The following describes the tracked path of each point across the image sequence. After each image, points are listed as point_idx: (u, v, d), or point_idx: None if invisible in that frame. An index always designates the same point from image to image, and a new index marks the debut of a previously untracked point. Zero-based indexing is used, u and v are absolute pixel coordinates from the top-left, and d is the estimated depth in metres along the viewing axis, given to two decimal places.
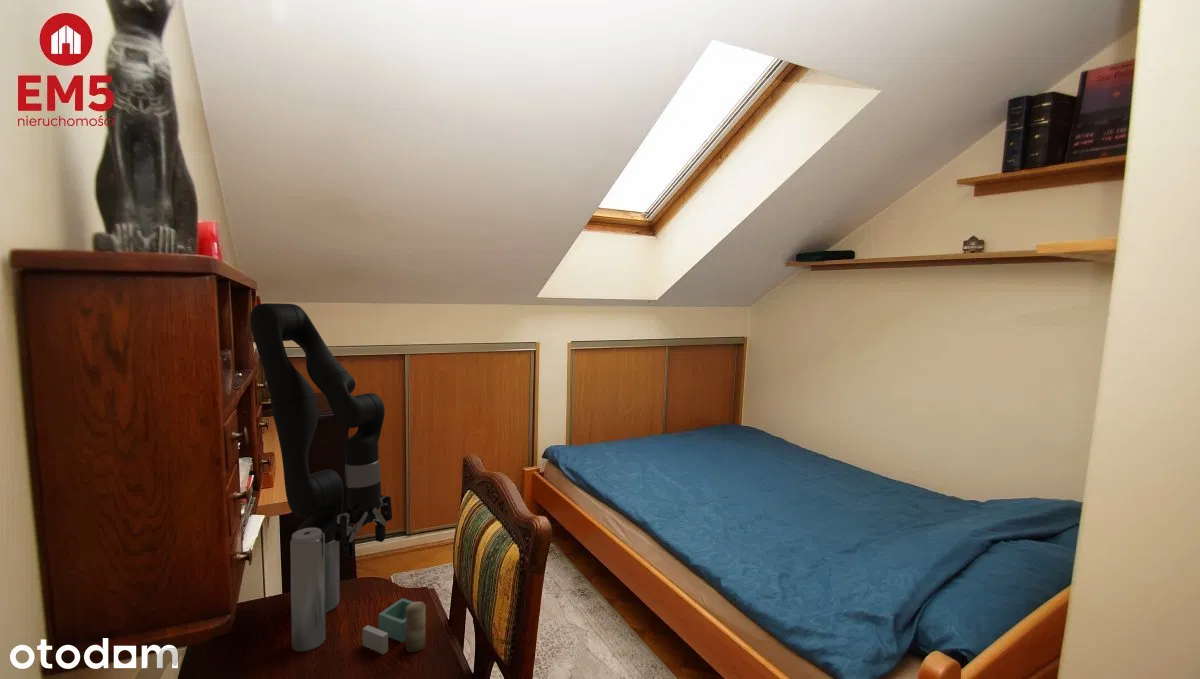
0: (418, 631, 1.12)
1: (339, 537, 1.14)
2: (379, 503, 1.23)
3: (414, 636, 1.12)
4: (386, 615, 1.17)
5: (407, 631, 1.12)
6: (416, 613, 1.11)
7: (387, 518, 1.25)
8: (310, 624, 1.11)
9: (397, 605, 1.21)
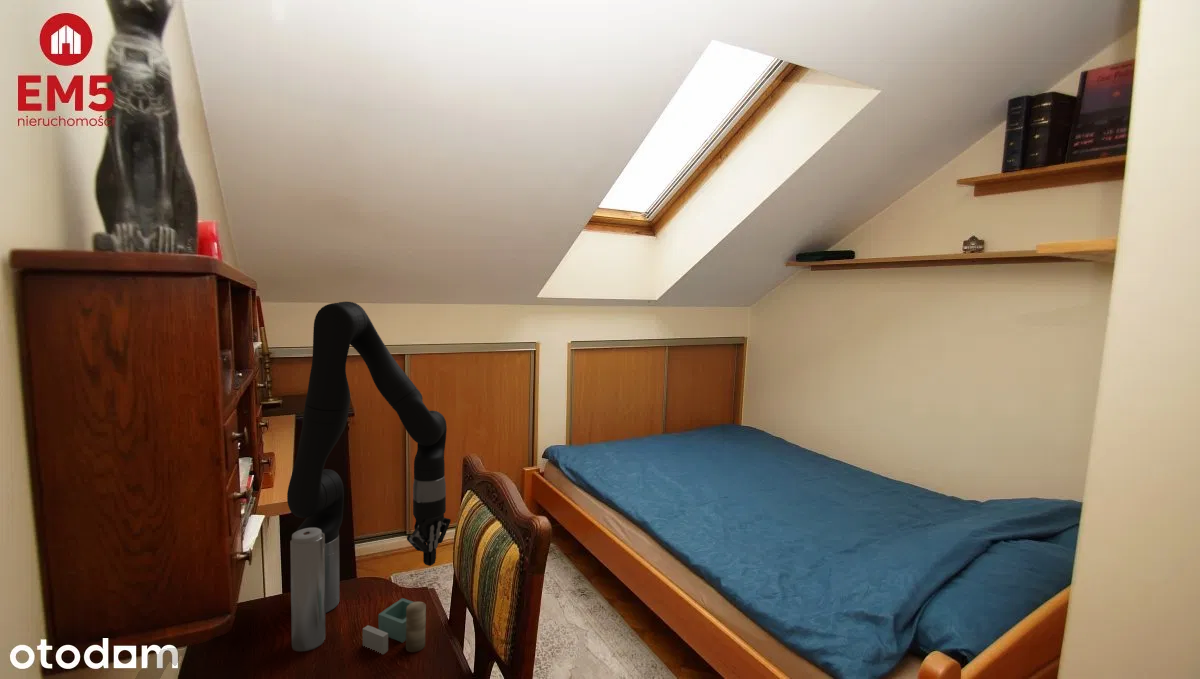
0: (418, 631, 1.12)
1: (420, 549, 1.23)
2: (442, 517, 1.28)
3: (414, 636, 1.12)
4: (386, 615, 1.17)
5: (407, 631, 1.12)
6: (416, 613, 1.11)
7: (438, 541, 1.27)
8: (310, 624, 1.11)
9: (397, 605, 1.21)
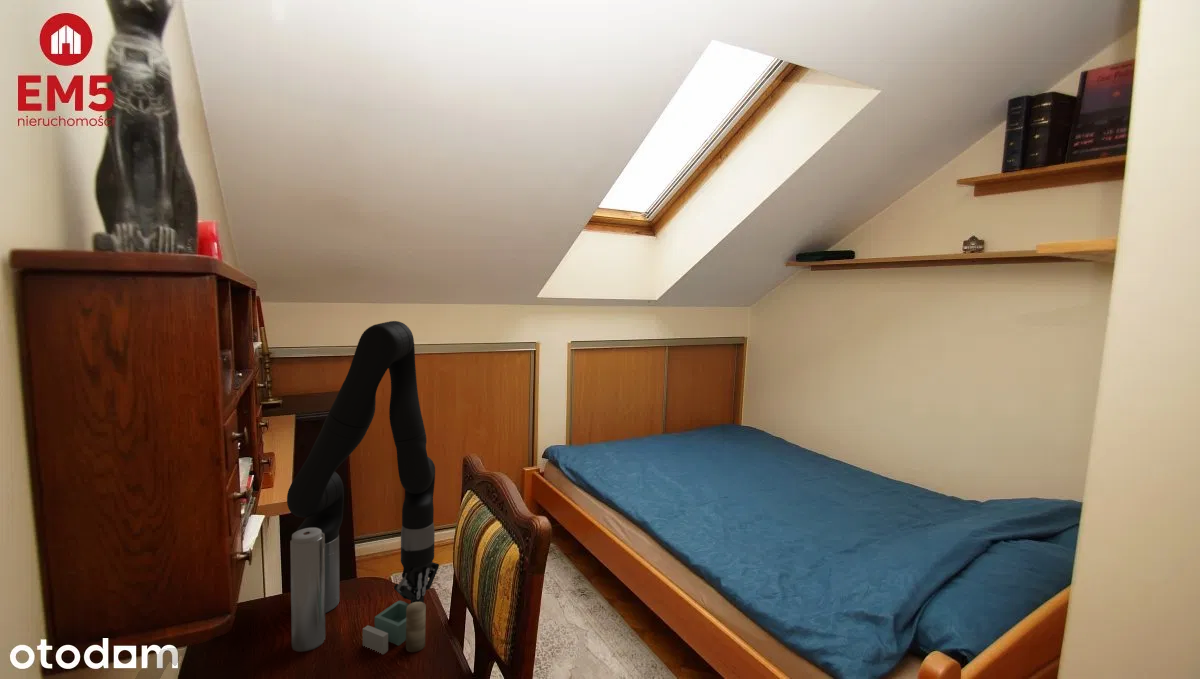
0: (418, 631, 1.12)
1: None
2: (431, 563, 1.26)
3: (414, 636, 1.12)
4: (382, 618, 1.16)
5: (407, 631, 1.12)
6: (416, 613, 1.11)
7: (426, 587, 1.25)
8: (310, 624, 1.11)
9: (393, 607, 1.20)
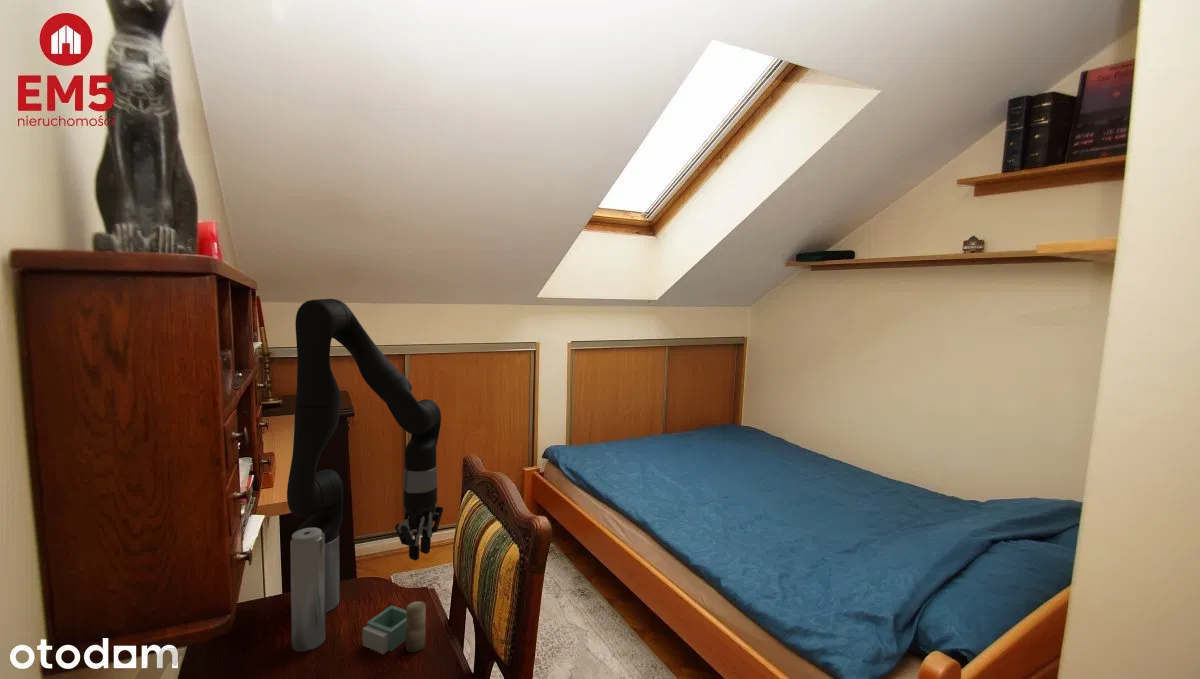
0: (418, 630, 1.12)
1: (406, 542, 1.19)
2: (434, 508, 1.25)
3: (414, 636, 1.12)
4: (374, 623, 1.14)
5: (407, 631, 1.12)
6: (417, 613, 1.11)
7: (433, 530, 1.25)
8: (310, 624, 1.11)
9: (386, 613, 1.18)
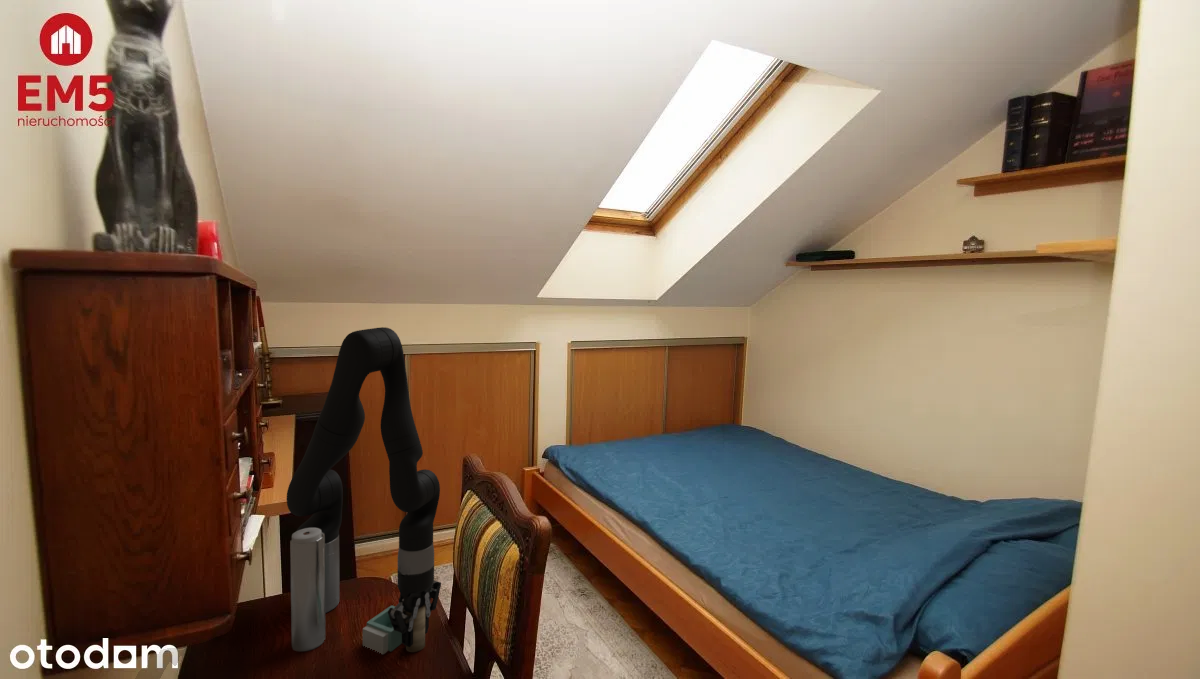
0: (418, 631, 1.12)
1: (398, 628, 1.09)
2: (431, 586, 1.16)
3: (414, 636, 1.12)
4: (374, 623, 1.14)
5: None
6: None
7: (431, 608, 1.16)
8: (310, 624, 1.11)
9: (386, 613, 1.18)
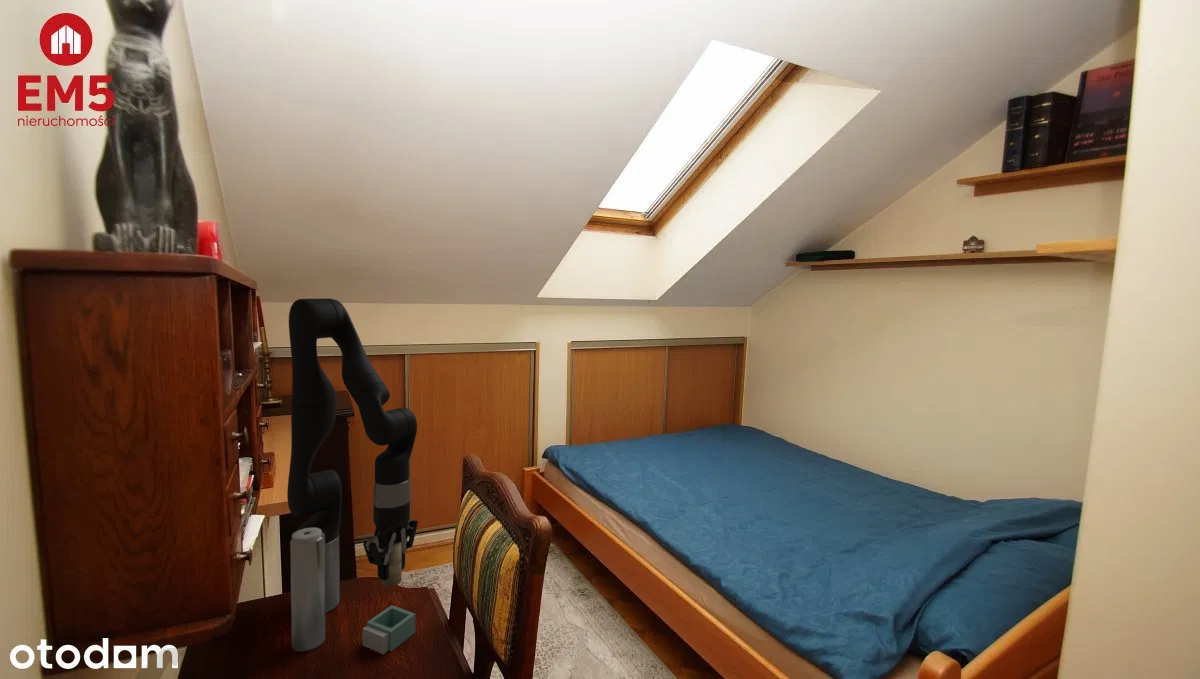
0: (394, 565, 1.13)
1: (373, 561, 1.10)
2: (407, 523, 1.17)
3: (390, 570, 1.13)
4: (374, 623, 1.14)
5: None
6: None
7: (408, 545, 1.18)
8: (310, 624, 1.11)
9: (386, 613, 1.18)
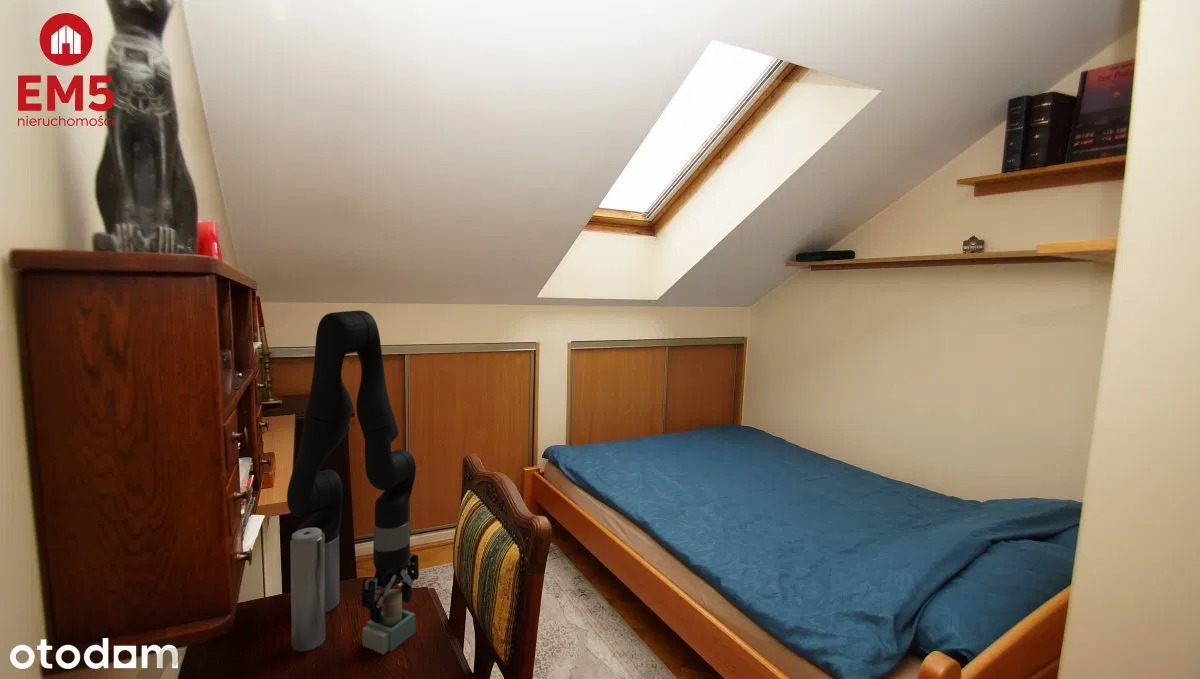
0: (394, 617, 1.15)
1: (367, 603, 1.09)
2: (407, 563, 1.18)
3: (390, 622, 1.14)
4: (374, 623, 1.14)
5: (384, 617, 1.15)
6: (393, 599, 1.14)
7: (414, 577, 1.21)
8: (310, 624, 1.11)
9: None
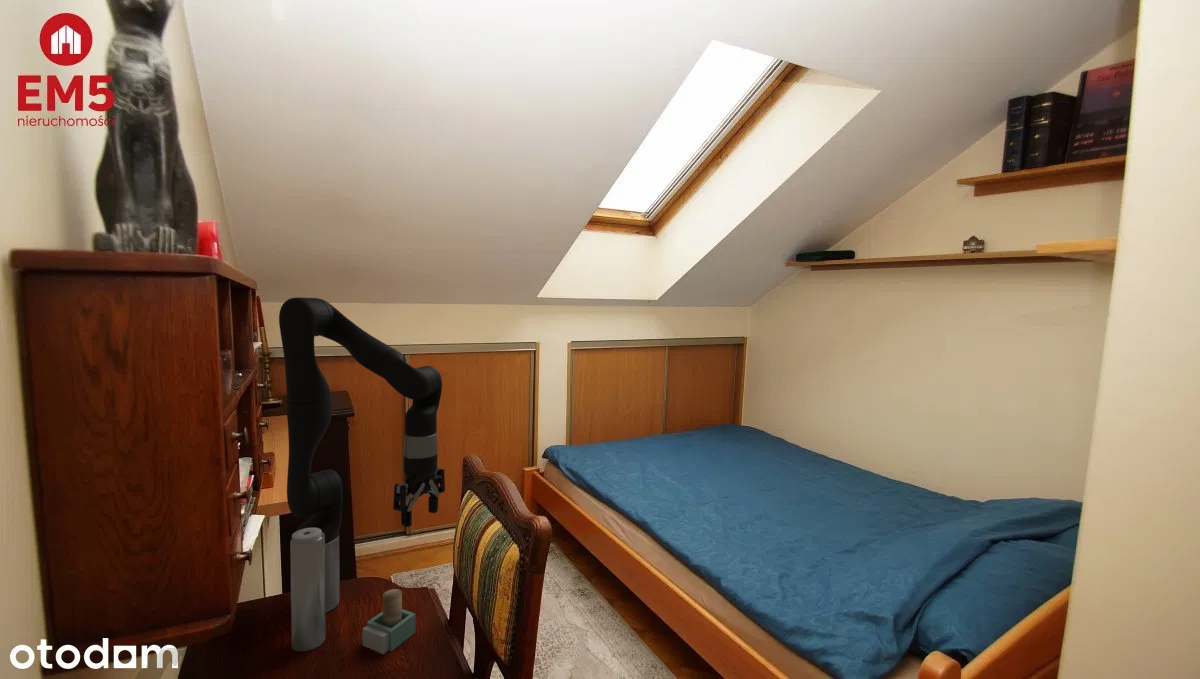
0: (394, 617, 1.15)
1: (398, 506, 1.16)
2: (434, 475, 1.24)
3: (390, 622, 1.14)
4: (374, 623, 1.14)
5: (384, 617, 1.15)
6: (393, 600, 1.14)
7: (440, 490, 1.27)
8: (310, 624, 1.11)
9: None
